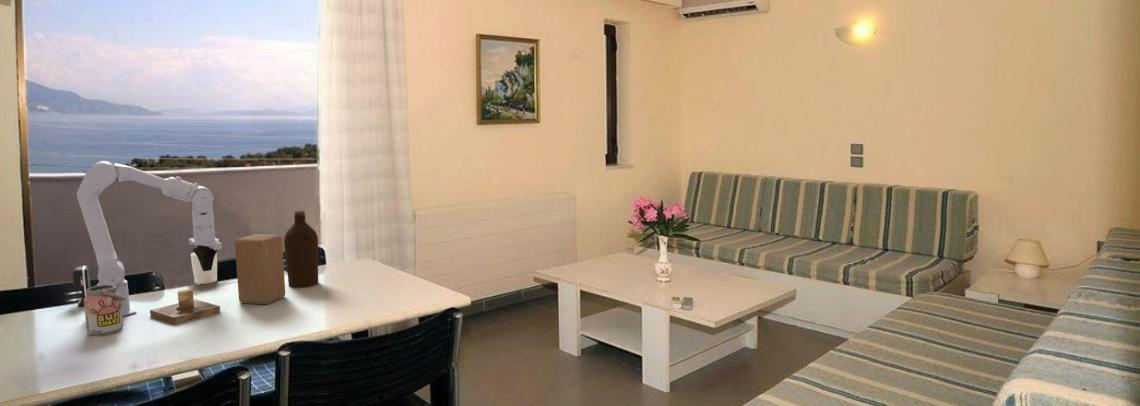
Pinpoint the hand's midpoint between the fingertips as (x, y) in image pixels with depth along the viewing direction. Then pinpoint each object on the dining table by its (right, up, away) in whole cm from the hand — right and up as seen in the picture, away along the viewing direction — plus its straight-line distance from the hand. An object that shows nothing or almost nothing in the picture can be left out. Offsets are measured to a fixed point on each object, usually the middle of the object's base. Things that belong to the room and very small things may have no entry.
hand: (207, 270), depth 209 cm
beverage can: (-13, -14, -26) cm, 32 cm away
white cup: (-14, -7, +26) cm, 30 cm away
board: (0, -12, -12) cm, 16 cm away
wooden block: (+15, -10, +3) cm, 19 cm away
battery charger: (-37, -10, -1) cm, 39 cm away
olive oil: (+21, -7, +22) cm, 31 cm away
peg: (0, -12, -11) cm, 16 cm away
